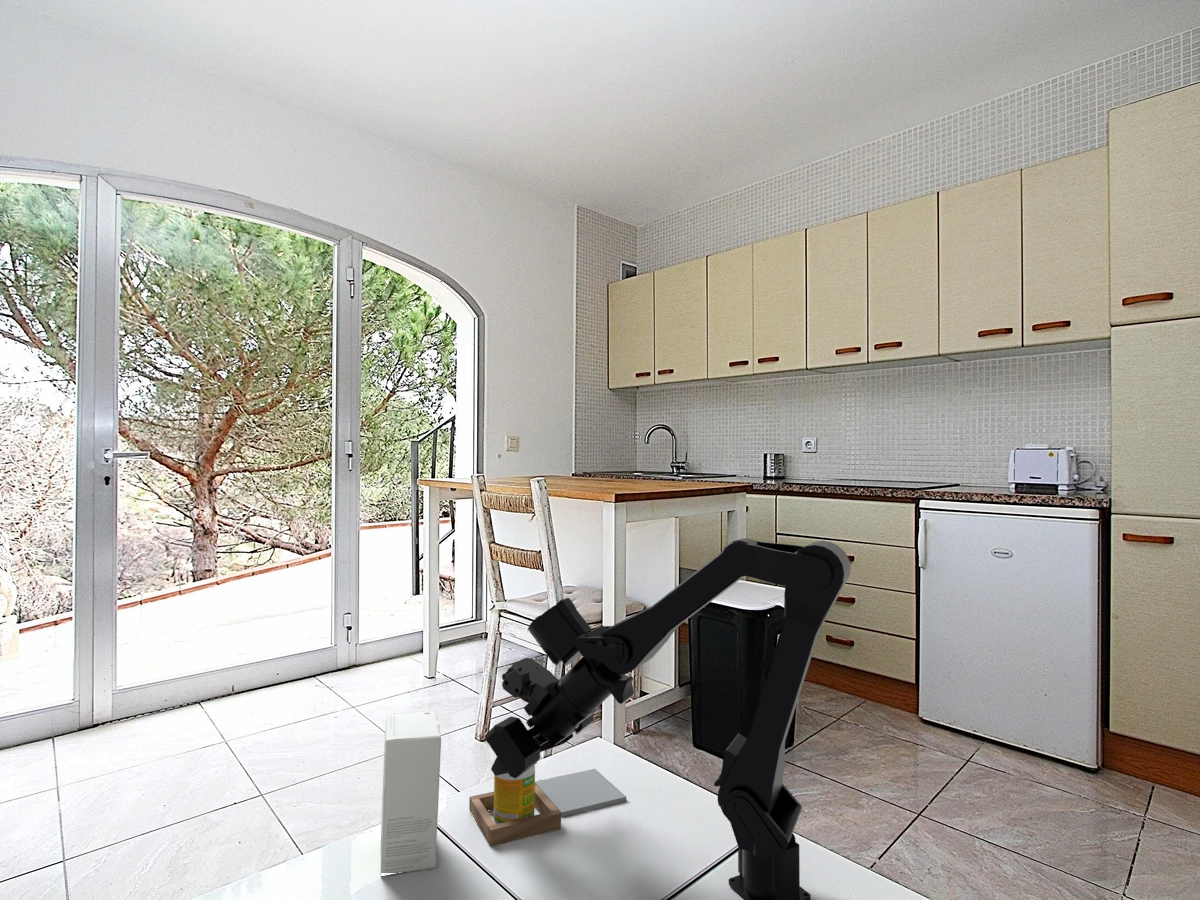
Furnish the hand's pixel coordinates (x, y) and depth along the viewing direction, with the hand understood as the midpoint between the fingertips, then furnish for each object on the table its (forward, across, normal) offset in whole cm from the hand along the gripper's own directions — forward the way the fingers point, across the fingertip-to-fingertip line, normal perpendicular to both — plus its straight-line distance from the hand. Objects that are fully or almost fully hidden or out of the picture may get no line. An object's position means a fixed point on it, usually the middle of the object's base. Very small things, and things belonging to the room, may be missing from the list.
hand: (506, 763), depth 88 cm
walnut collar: (+4, 0, +6) cm, 7 cm away
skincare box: (+9, +12, +1) cm, 15 cm away
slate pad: (+1, -11, +9) cm, 14 cm away
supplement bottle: (+4, 0, +6) cm, 7 cm away
